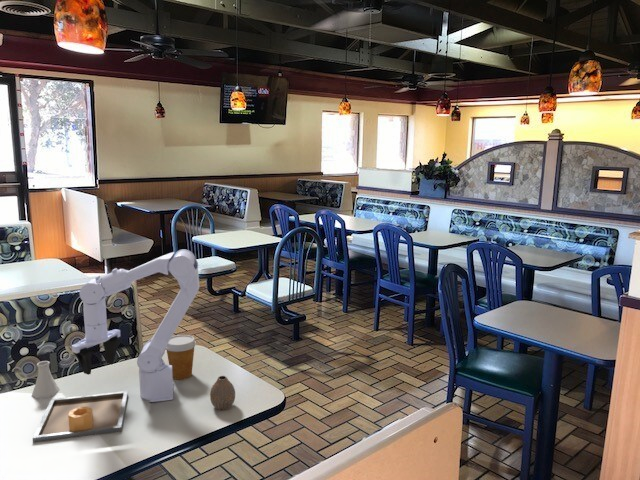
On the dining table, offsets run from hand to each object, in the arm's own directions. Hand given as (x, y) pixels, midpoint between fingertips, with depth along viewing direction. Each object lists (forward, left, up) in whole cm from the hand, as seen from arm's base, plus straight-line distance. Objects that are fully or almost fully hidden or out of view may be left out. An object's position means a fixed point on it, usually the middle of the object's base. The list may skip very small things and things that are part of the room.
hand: (99, 368), depth 146 cm
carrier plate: (+3, +11, -9) cm, 15 cm away
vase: (-33, +13, -10) cm, 37 cm away
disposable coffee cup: (-22, -10, -10) cm, 26 cm away
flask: (+16, -6, -10) cm, 19 cm away
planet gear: (+3, +16, -9) cm, 18 cm away
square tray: (+3, +11, -9) cm, 15 cm away
